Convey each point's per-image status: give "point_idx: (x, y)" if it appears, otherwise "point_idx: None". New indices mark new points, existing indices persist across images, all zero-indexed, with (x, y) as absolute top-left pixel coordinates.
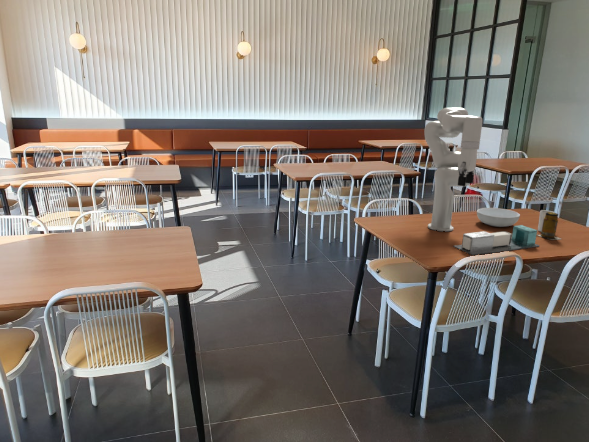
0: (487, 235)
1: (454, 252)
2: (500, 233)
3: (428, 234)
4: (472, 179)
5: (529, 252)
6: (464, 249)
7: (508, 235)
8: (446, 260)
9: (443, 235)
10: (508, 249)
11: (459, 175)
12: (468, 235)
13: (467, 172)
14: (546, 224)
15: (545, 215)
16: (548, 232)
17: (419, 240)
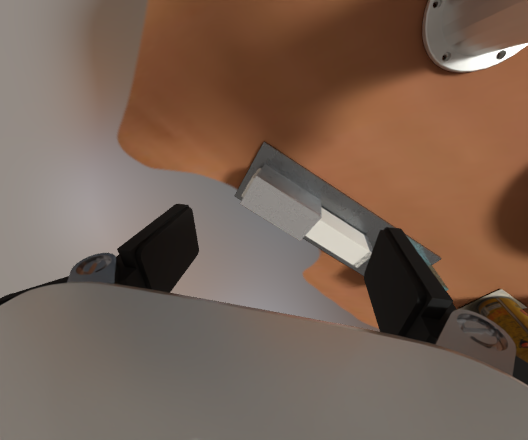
0: (284, 228)
1: (228, 157)
2: (344, 246)
3: (351, 7)
4: (372, 305)
5: (332, 275)
6: (254, 173)
7: (347, 260)
8: (170, 158)
9: (369, 69)
10: (318, 247)
11: (84, 270)
12: (250, 190)
13: (438, 334)
14: (508, 331)
15: None
16: (487, 317)
17: (255, 19)
